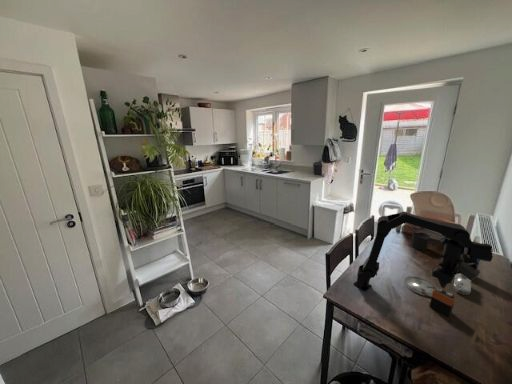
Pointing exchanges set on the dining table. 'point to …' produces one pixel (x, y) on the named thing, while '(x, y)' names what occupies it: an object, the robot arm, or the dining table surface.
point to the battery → (442, 301)
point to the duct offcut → (462, 284)
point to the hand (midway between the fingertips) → (444, 285)
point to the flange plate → (420, 286)
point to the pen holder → (420, 241)
